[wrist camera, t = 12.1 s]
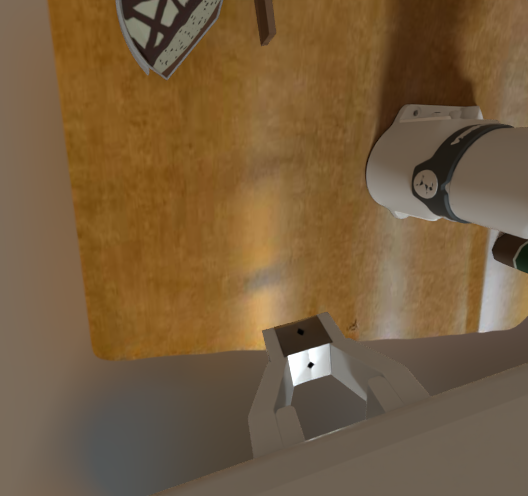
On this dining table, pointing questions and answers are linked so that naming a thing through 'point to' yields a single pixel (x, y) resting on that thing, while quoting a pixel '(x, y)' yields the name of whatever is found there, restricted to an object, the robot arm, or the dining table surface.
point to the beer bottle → (512, 251)
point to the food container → (165, 30)
